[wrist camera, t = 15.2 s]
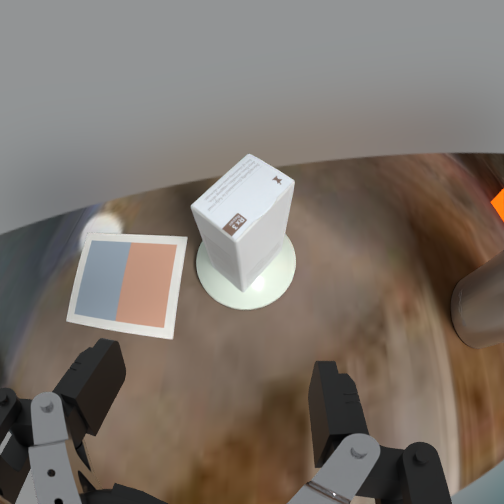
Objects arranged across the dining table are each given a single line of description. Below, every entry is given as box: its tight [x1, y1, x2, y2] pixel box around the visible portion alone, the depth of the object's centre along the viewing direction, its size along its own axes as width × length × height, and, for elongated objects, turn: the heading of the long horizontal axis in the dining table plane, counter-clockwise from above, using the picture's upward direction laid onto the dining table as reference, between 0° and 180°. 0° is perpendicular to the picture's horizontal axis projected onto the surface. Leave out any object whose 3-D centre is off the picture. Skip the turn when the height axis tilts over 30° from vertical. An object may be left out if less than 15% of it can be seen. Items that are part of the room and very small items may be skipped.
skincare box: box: [191, 154, 295, 292], centre depth 25 cm, size 6×4×12 cm
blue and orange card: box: [66, 233, 188, 339], centre depth 30 cm, size 13×11×1 cm
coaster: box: [196, 234, 296, 310], centre depth 30 cm, size 10×10×1 cm
